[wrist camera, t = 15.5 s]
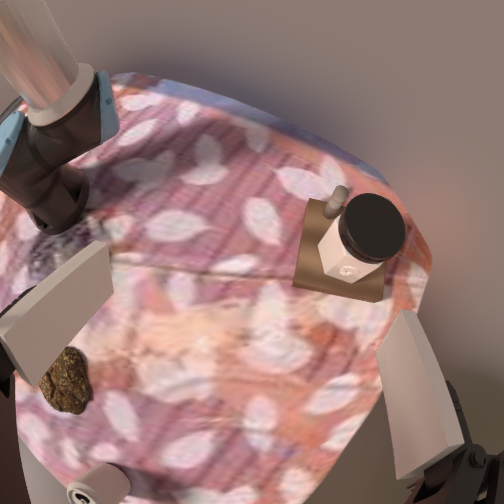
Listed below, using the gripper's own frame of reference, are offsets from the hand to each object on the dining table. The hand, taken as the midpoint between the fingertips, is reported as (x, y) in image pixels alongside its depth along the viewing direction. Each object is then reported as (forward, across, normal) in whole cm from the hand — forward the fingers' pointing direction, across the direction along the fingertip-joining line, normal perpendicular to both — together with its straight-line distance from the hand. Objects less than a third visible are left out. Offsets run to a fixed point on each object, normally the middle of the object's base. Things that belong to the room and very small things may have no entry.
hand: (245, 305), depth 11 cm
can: (-3, -17, -46) cm, 49 cm away
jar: (+28, +12, -10) cm, 32 cm away
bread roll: (+8, -29, -35) cm, 46 cm away
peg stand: (+31, +12, -10) cm, 35 cm away
